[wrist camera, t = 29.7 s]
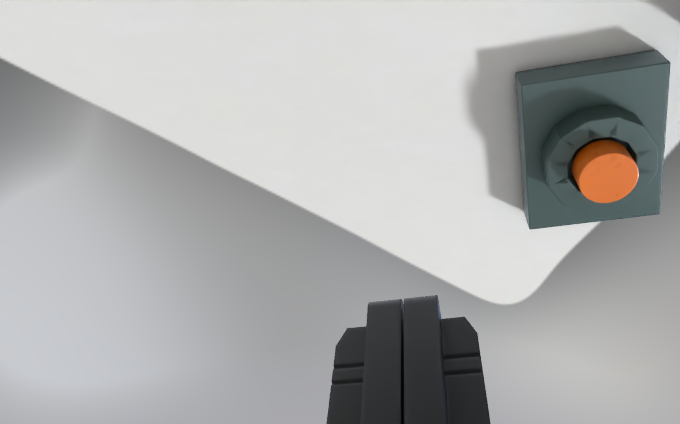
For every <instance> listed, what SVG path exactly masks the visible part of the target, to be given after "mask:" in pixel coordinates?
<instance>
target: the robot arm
mask: <svg viewBox="0 0 680 424" xmlns="http://www.w3.org/2000/svg"><path fill="white" fill-rule="evenodd" d="M327 424H490V418H489V411H488V404H487V397H486V390H485V384H484V377H483V370H482V363H481V356H480V350H479V342H478V336H477V332H476V331H475V330H474V328H473V327H472V326H471V324H470V323H469V322H468V321H467V319H466V318H465V317H458V318H447V319H441V314H440V308H439V301H438V296H437V295H435V296H426V297H415V298H406V299H404V304H403V301H402V299H399V300H388V301H379V302H369V304H368V314H367V327H357V328H348V329H347V330H346V331H345V333H344V334H343V336H342V338H341V339H340V341H339V342H338V344H337V345H336V350H335V359H334V370H333V375H332V385H331V392H330V401H329V409H328V417H327Z"/></svg>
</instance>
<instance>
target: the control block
mask: <svg viewBox="0 0 680 424" xmlns="http://www.w3.org/2000/svg"><path fill="white" fill-rule="evenodd" d="M669 74H670V62H669V61H668V60H667V59H666V58H665V57H664V56H663V55H662V54H661V53H660V52H659V51H658V50H653V51H647V52H641V53H634V54H628V55H622V56H616V57H609V58H603V59H597V60H591V61H584V62H578V63H572V64H566V65H559V66H553V67H547V68H541V69H534V70H528V71H522V72H516V89H517V106H518V122H519V138H520V155H521V171H522V187H523V204H524V213H525V217H526V220H527V223H528V226H529V229H538V228H546V227H554V226H563V225H571V224H580V223H588V222H597V221H605V220H614V219H622V218H630V217H638V216H647V215H656V214H659V213H660V206H661V191H662V176H663V162H664V147H665V133H666V118H667V103H668V89H669ZM599 140H612V141H616V142H618V143H620V144H622V145H623V146H624V147H625V148H626V149H627V151H628V152H629V154H630V155H631V157H632V158H633V160H634V161H635V163H636V165H637V167H638V171H639V176H638V181H637V183H636V185H635V187H634V189H633V190H632V191H631V192H630V193H629V194H628V195H627V196H625V197H624V198H622V199H620V200H617V201H614V202H610V203H597V202H594V201H591V200H589V199H587V198H586V197H585V196H584V195H583V194H582V192H581V191H580V189H579V186H578V184H577V182H576V180H575V178H574V176H573V173H572V164H573V161H574V158H575V156H576V155H577V153H578V152H579V151H580V150H581V149H582V148H583V147H585V146H586V145H588V144H590V143H592V142H595V141H599Z"/></svg>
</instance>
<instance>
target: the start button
mask: <svg viewBox="0 0 680 424" xmlns="http://www.w3.org/2000/svg"><path fill="white" fill-rule="evenodd" d="M572 173H573V176H574V178H575V180H576V182H577V184H578V186H579V189H580V191H581V192H582V194H583V195H584V196H585V197H586V198H587V199H589V200H591V201H594V202H597V203H610V202H614V201H617V200H620V199H622V198H624V197H625V196H627V195H628V194H629V193H630V192H631V191H632V190H633V189H634V187H635V185H636V183H637V181H638V176H639V171H638V167H637V165H636V163H635V161H634V160H633V158H632V157H631V155H630V154H629V152H628V151H627V149H626V148H625V147H624V146H623V145H622V144H620V143H618V142H616V141H612V140H599V141H595V142H592V143H590V144H588V145H586V146H585V147H583V148H582V149H581V150H580V151H579V152H578V153H577V155H576V156H575V158H574V161H573V164H572Z"/></svg>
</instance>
